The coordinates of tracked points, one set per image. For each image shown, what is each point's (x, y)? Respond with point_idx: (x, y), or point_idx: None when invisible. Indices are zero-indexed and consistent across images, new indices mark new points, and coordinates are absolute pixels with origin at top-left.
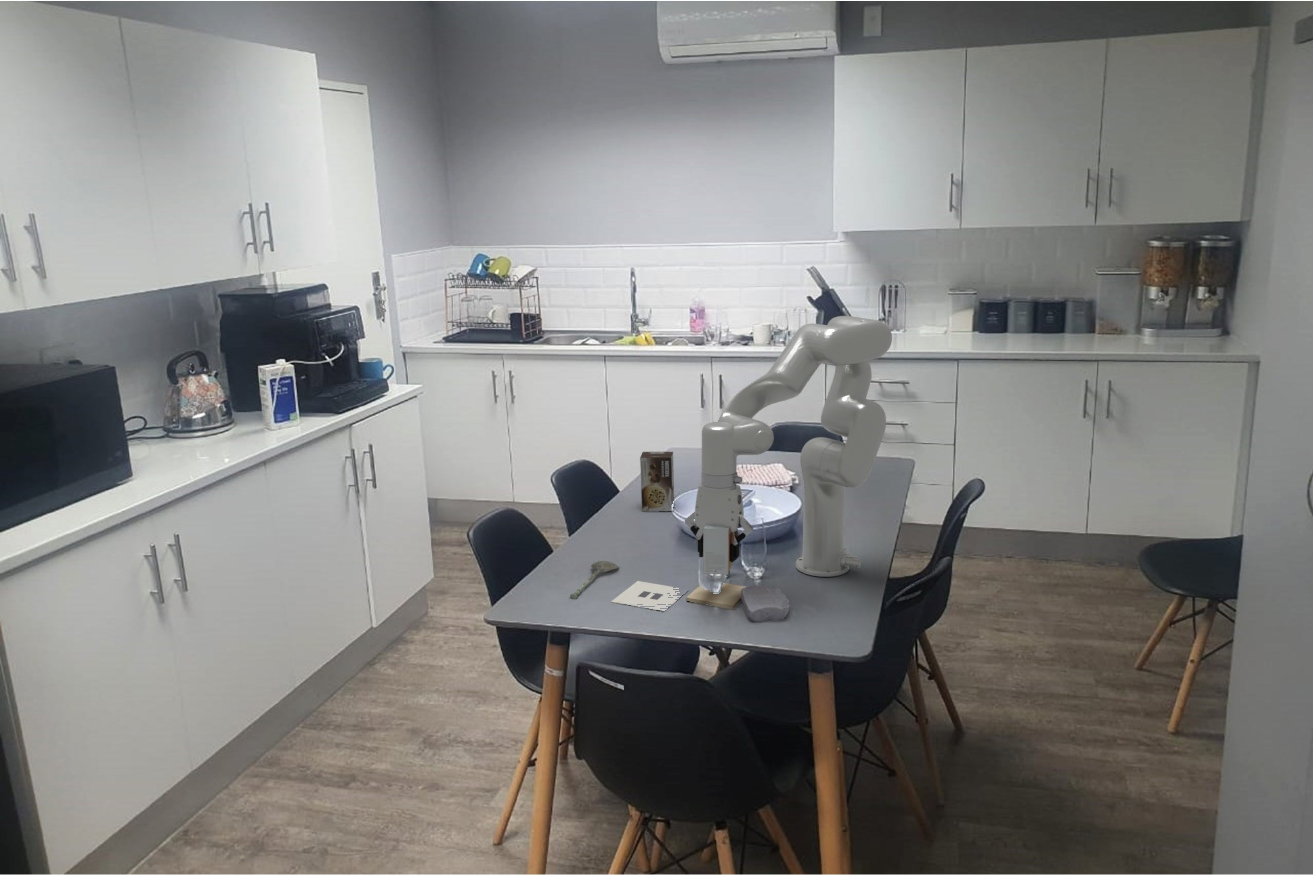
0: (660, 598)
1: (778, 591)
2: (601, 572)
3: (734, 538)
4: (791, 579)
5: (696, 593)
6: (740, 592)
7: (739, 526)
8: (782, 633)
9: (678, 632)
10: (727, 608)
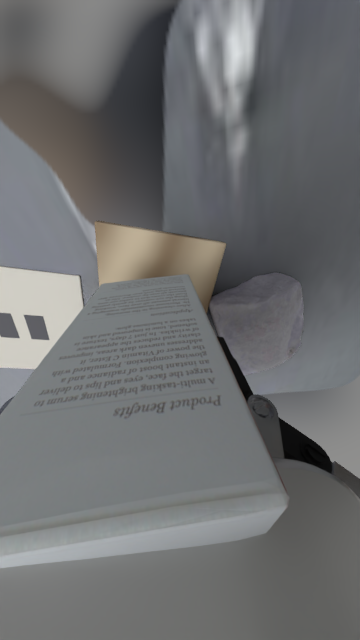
0: (51, 333)
1: (294, 296)
2: None
3: None
4: (350, 91)
5: None
6: (204, 281)
7: (312, 474)
8: (270, 376)
9: None
10: None
